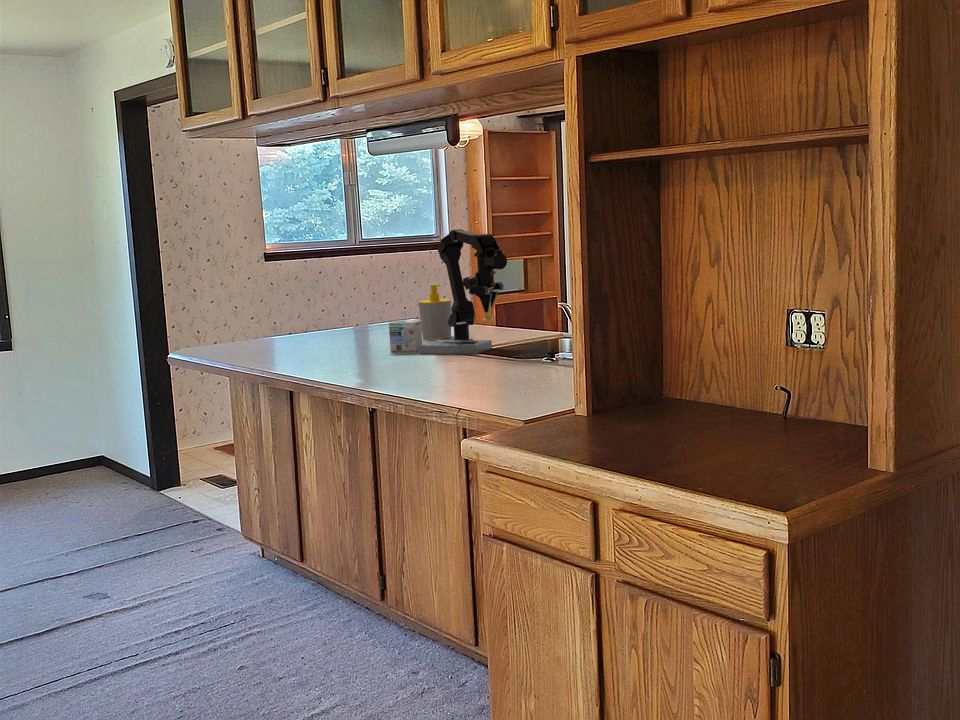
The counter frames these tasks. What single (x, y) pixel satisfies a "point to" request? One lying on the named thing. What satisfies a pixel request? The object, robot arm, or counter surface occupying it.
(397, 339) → the light bulb box
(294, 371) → the counter surface
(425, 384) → the counter surface
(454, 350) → the keyhole plate
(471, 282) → the robot arm
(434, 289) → the soap bottle
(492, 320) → the headed peg
